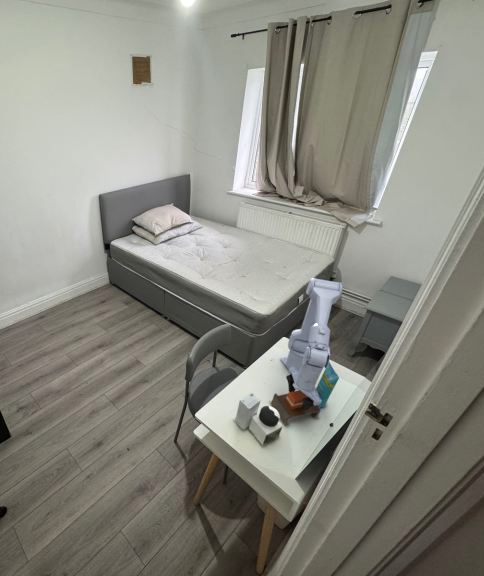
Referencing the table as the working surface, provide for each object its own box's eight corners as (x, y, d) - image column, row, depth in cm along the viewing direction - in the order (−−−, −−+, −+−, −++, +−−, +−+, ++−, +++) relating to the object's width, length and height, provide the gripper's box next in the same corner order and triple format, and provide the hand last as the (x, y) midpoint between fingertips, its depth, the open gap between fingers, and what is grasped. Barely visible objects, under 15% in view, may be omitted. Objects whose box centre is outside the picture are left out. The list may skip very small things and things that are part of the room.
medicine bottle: (262, 446, 101) (270, 426, 94) (248, 428, 107) (254, 408, 100) (278, 437, 104) (287, 417, 97) (263, 420, 109) (270, 400, 102)
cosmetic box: (243, 430, 106) (249, 410, 99) (234, 420, 109) (239, 400, 102) (255, 421, 109) (261, 401, 102) (245, 412, 112) (251, 391, 105)
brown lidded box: (301, 396, 116) (305, 387, 113) (317, 417, 109) (322, 407, 106) (270, 403, 114) (274, 393, 111) (284, 425, 107) (288, 415, 104)
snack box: (301, 397, 111) (305, 388, 108) (308, 405, 108) (312, 397, 105) (284, 400, 110) (288, 392, 107) (290, 409, 107) (294, 401, 104)
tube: (306, 394, 117) (321, 360, 106) (319, 393, 117) (335, 360, 106) (316, 411, 111) (333, 377, 100) (329, 410, 111) (347, 377, 100)
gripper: (284, 361, 106) (276, 385, 113) (312, 395, 94) (300, 420, 102) (302, 357, 107) (293, 382, 115) (331, 391, 95) (319, 416, 103)
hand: (297, 400), depth 108 cm, fingers open, 7 cm apart
